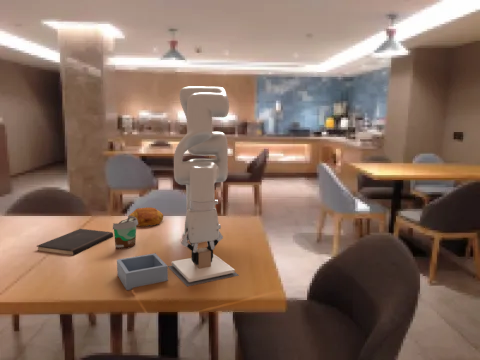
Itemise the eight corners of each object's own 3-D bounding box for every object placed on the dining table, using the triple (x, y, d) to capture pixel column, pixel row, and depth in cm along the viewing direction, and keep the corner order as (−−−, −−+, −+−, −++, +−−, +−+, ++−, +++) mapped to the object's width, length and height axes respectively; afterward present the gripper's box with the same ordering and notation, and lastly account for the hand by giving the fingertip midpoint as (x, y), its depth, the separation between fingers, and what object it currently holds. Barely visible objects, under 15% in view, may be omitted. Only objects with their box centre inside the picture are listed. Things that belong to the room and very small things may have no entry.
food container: (129, 251, 139) (128, 224, 137) (113, 250, 140) (112, 223, 138) (144, 241, 151) (143, 216, 149) (129, 240, 152) (128, 215, 150)
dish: (155, 268, 124) (155, 253, 123) (167, 282, 114) (167, 265, 113) (117, 275, 118) (116, 259, 118) (126, 290, 108) (126, 273, 107)
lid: (213, 256, 132) (213, 239, 131) (234, 272, 119) (234, 254, 118) (171, 264, 124) (171, 246, 123) (189, 282, 111) (188, 262, 110)
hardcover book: (36, 251, 139) (36, 245, 139) (80, 234, 161) (80, 228, 161) (73, 256, 135) (73, 250, 134) (113, 237, 156) (113, 232, 156)
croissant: (130, 224, 182) (127, 208, 181) (163, 218, 186) (161, 202, 184) (129, 232, 169) (125, 214, 167) (165, 225, 172) (162, 208, 170)
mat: (215, 258, 133) (215, 257, 133) (239, 276, 118) (239, 275, 118) (167, 267, 124) (167, 266, 124) (187, 288, 110) (187, 286, 110)
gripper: (221, 200, 125) (220, 253, 128) (171, 205, 117) (172, 262, 120) (232, 205, 119) (231, 261, 122) (180, 211, 111) (181, 271, 114)
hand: (202, 261), depth 121 cm, fingers closed on lid, 4 cm apart
